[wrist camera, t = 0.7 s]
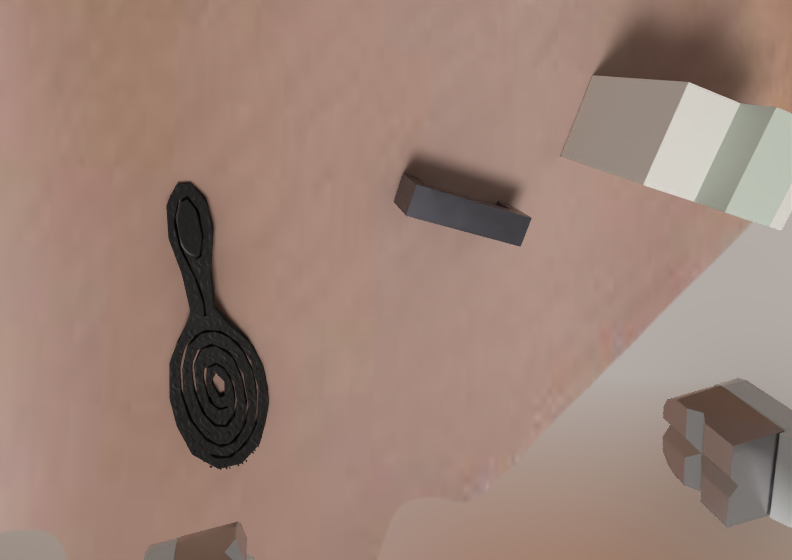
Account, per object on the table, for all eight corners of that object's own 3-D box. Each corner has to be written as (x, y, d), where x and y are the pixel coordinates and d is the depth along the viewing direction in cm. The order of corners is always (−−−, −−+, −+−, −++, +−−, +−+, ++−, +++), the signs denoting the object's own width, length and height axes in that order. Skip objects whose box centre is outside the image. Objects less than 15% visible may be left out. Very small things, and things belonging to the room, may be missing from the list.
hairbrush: (237, 183, 44) (275, 466, 52) (240, 176, 47) (275, 442, 55) (119, 192, 42) (177, 482, 50) (130, 184, 45) (183, 456, 54)
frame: (393, 202, 49) (406, 215, 45) (403, 173, 48) (416, 184, 44) (499, 231, 52) (520, 246, 48) (509, 204, 52) (531, 218, 47)
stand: (560, 156, 51) (671, 194, 37) (592, 75, 49) (721, 84, 35) (677, 195, 55) (815, 242, 41) (711, 121, 53) (868, 145, 39)
